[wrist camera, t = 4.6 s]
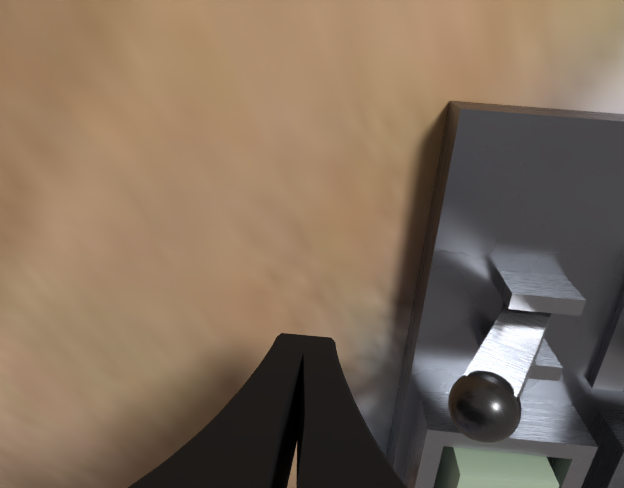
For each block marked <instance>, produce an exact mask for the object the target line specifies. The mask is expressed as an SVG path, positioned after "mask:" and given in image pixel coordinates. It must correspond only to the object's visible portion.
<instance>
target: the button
mask: <svg viewBox="0 0 624 488" xmlns="http://www.w3.org/2000/svg"><path fill="white" fill-rule="evenodd" d="M433 488H559V483H558V481H557V479H556V477H555V475H554V472H553V470H552V468H551V466H550V464H549V462H548V459H547V457H546V456H536V455H526V454H516V453H506V452H497V451H487V450H477V449H467V448H458V447H448V446H443V450H442V454H441V458H440V462H439V466H438V471H437V475H436V479H435V483H434V487H433Z"/></svg>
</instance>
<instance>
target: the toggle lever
mask: <svg viewBox="0 0 624 488" xmlns="http://www.w3.org/2000/svg"><path fill="white" fill-rule="evenodd" d="M551 314H552V313H545V312H534V311H523V310H512V309H508V308H507V306H506V305H505V307H504V309H503V310H502V312H501V314H500V315H499V317H498V319H497V320H496V322H495V324H494V325H493V327H492V329H491V330H490V332H489V333H488V335H487V337H486V338H485V340H484V342H483V343H482V345H481V347H480V348H479V350H478V352H477V353H476V355H475V357H474V358H473V360H472V362H471V363H470V365H469V366H468V368H467V370H466V371H465V373H464V375H463V376H461V377H460V378H459V379H458V380H457V381H456V382H455V383H454V384H453V386H452V388H451V390H450V393H449V397H448V409H449V414H450V417H451V419H452V421H453V423H454V425H455V426H456V427H457V429H458V430H459V431H460V432H461V433H462V434H464V435H465V436H466V437H468V438H470V439H471V440H474V441H477V442H480V443H486V444H490V443H497V442H500V441H503V440H505V439H507V438H508V437H509V436H511V435H512V434H513V433H514V432H515V430H516V429H517V427H518V425H519V423H520V419H521V402H520V398H521V395H522V393H523V390H524V388H525V385H526V383H527V380H528V378H529V375H530V373H531V370H532V368H533V365H534V363H535V360H536V358H537V355H538V353H539V350H540V348H541V345H542V342H543V339H544V336H545V333H546V330H547V326H548V323H549V320H550V317H551Z"/></svg>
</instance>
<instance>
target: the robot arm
mask: <svg viewBox="0 0 624 488" xmlns="http://www.w3.org/2000/svg"><path fill="white" fill-rule="evenodd" d="M296 443H297V488H407V486H406V485H405V484H404V482H403V481H402V480H401V479H400V477H399V476H398V474H397V473H396V471H395V470H394V468H393V467H392V466H391V464H390V463H389V461H388V460H387V458H386V457H385V455H384V454H383V452H382V450H381V449H380V447H379V446H378V444H377V442H376V441H375V439H374V437H373V436H372V434H371V432H370V430H369V428H368V427H367V425H366V423H365V421H364V419H363V417H362V415H361V413H360V411H359V409H358V407H357V405H356V403H355V401H354V399H353V396H352V394H351V392H350V389H349V387H348V385H347V382H346V380H345V377H344V374H343V371H342V368H341V365H340V362H339V359H338V355H337V351H336V345H335V342H334V340H333V339H332V338H328V337H317V336H307V335H296V334H285V333H281V334H280V335H279V336H277V338H276V340H275V342H274V343H273V345H272V347H271V348H270V350H269V352H268V353H267V355H266V356H265V358H264V359H263V360H262V362H261V363H260V365H259V366H258V368H257V369H256V370H255V371H254V373H253V374H252V375H251V377H250V378H249V379H248V380H247V382H246V383H245V384H244V386H243V387H242V388H241V389H240V390H239V391H238V393H237V394H236V395H235V396H234V397H233V398H232V399H231V400H230V402H229V403H228V404H227V405H226V406H225V407H224V408H223V409H222V410H221V411H220V412H219V414H218V415H217V416H216V417H215V418H214V419H213V420H212V421H211V422H210V423H209V424H208V425H206V426H205V427H204V428H203V429H202V430H201V431H200V432H199V433H198V434H197V435H196V436H195V437H194V438H192V439H191V440H190V441H189V442H188V443H186V444H185V445H184V446H183V447H182V448H181V449H179V450H178V451H177V452H176V453H175V454H173V455H172V456H171V457H170V458H168V459H167V460H166V461H165V462H163V463H162V464H161V465H159V466H158V467H157V468H155V469H154V470H153V471H151V472H150V473H148V474H147V475H145V476H144V477H143V478H141V479H140V480H138V481H137V482H135V483H134V484H133V485H131V486H130V487H128V488H287V485H288V480H289V475H290V471H291V466H292V462H293V457H294V452H295V448H296Z"/></svg>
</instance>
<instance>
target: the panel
mask: <svg viewBox="0 0 624 488" xmlns="http://www.w3.org/2000/svg"><path fill="white" fill-rule="evenodd" d="M505 305H506V306H507V308H508V309H512V310H523V311H534V312H545V313H552V314H551V317H550V320H549V323H548V326H547V330H546V333H545V336H544V339H543V342H542V345H541V348H540V350H539V353H538V355H537V358H536V360H535V363H534V365H533V368H532V370H531V373H530V375H529V378H528V380H527V383H526V385H525V388H524V390H523V393H522V395H521V398H520V402H521V419H520V423H519V425H518V427H517V429H516V430H515V432H514V433H513V434H512V435H511V436H509V437H508V438H507V439H505V440H503V441H500V442H497V443H490V444H486V443H480V442H477V441H474V440H471V439H470V438H468V437H466V436H465V435H464V434H462V433H461V432H460V431H459V430H458V429H457V427H456V426H455V425H454V423H453V421H452V419H451V417H450V414H449V409H448V397H449V393H450V390H451V388H452V386H453V384H454V383H455V382H456V381H457V380H458V379H459V378H460V377H461V376H463V375H464V373H465V371H466V370H467V368H468V366H469V365H470V363H471V362H472V360H473V358H474V357H475V355H476V353H477V352H478V350H479V348H480V347H481V345H482V343H483V342H484V340H485V338H486V337H487V335H488V333H489V332H490V330H491V329H492V327H493V325H494V324H495V322H496V320H497V319H498V317H499V315H500V314H501V312H502V310H503V309H504V307H505ZM443 446H448V447H458V448H467V449H477V450H487V451H497V452H506V453H516V454H526V455H536V456H546V457H547V459H548V462H549V464H550V466H551V468H552V470H553V472H554V475H555V477H556V479H557V481H558V483H559V488H624V114H612V113H599V112H586V111H574V110H561V109H548V108H535V107H522V106H509V105H497V104H484V103H471V102H458V101H450V103H449V109H448V114H447V120H446V125H445V131H444V136H443V142H442V148H441V153H440V159H439V164H438V170H437V176H436V181H435V187H434V192H433V198H432V204H431V209H430V215H429V220H428V226H427V232H426V237H425V243H424V248H423V254H422V260H421V265H420V271H419V276H418V282H417V288H416V293H415V299H414V304H413V310H412V316H411V321H410V327H409V332H408V338H407V343H406V349H405V355H404V360H403V366H402V371H401V377H400V383H399V388H398V394H397V399H396V405H395V411H394V416H393V422H392V427H391V433H390V439H389V444H388V450H387V455H386V458H387V460H388V461H389V463H390V464H391V466H392V467H393V468H394V470H395V471H396V473H397V474H398V476H399V477H400V479H401V480H402V481H403V482H404V484H405V485H406V486H407V488H433V487H434V483H435V479H436V475H437V471H438V466H439V462H440V458H441V454H442V450H443Z"/></svg>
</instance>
